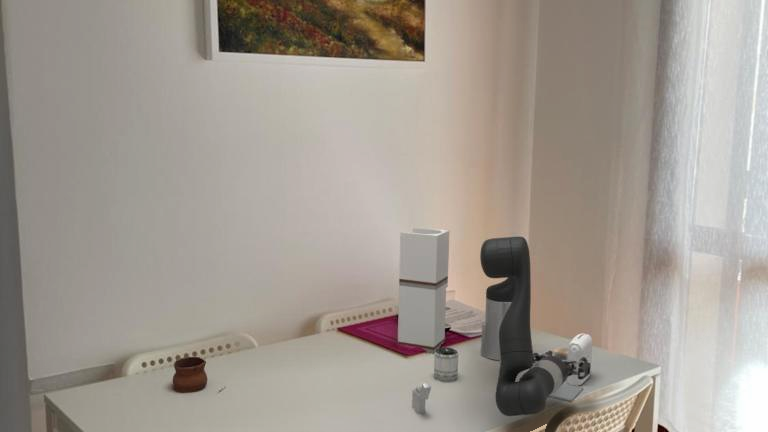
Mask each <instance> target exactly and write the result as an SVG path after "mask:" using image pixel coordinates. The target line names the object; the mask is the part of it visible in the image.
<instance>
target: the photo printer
mask: <svg viewBox="0 0 768 432" xmlns="http://www.w3.org/2000/svg"><path fill="white" fill-rule="evenodd" d="M567 349H568V360H575V361H579V360H580V359H581V358H582V357H586V359H587V360H588V362H587V363H590V364H591V366H590V374H589V375H588V376H586V377H585V378H584V379H581V380H580V379H578V375H572V376H568V377H567V379H566V381H565V382H566V384H568V385H573V386H577V387H579V386H581V385H582V384H583V383H585V382H586V381H587V380H588V379H589V377H590V375H591V373H592V371H591V370H592V355H593V338H592V337H591V335H589V334H588V333H579V334H577V335H575V336H574V337H573V338H572V339H571V340H570V342H569V345H568V347H567ZM570 365H571V364H570ZM578 367H579V365H577V367H576V369H578Z"/></svg>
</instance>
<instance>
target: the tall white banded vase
mask: <svg viewBox="0 0 768 432" xmlns="http://www.w3.org/2000/svg"><path fill="white" fill-rule="evenodd" d="M399 233H400V234H399V235H400V236H399V237H400V238H399V273H398V274H399V275H398V276H399V277H398V278H399V281H398V318H397V319H398V320H397V323H398V325H397V345H398V344H402V345H408V346H415V347H420V348H422V349H424V350H426V351H427V352H428V353H427V354H431V353H432V355H433V354H434V355H435V351H436V350H437V349H439V347H440V346H441V344H443V343H444V341H445V340H447V337H446V336H445V335H446V333H445V331H446V308H447V307H446V305H447V303H446V302H447V288H448V285H449V284H448V283H449V279H448V278H449V260H450V259H449V256H450V254H449V253H450V229H449V230H447V229H437V228H436V229H434V228H426V227H416V226H415V227H412V232H406V231H405V232H404V231H401V232H399Z"/></svg>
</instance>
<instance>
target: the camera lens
mask: <svg viewBox="0 0 768 432" xmlns="http://www.w3.org/2000/svg"><path fill="white" fill-rule="evenodd" d="M433 364H434V367H433V369H434V370H433V372H434V378H435V379H436V380H437V381H439V382H443V383H448V382H449V383H450V382H451V383H452V382H455V381H456V380H457V377H458V373H459V352H458V351H457V350H456V349H454V348H452V347H441V348H440V349H437V350H436V351H435V353H434V363H433Z"/></svg>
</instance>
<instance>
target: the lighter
mask: <svg viewBox="0 0 768 432" xmlns="http://www.w3.org/2000/svg"><path fill="white" fill-rule="evenodd" d="M431 390H432V386H431V384H430V382H425V383H422V384H421V387H420V386H416V387H415V388H414V389H412V399H411V407H412V408H413V409H414V410H415V411H416V412H417V413H418V414H425V413H426V401H427V400H428V399H429V396H430V394H431Z"/></svg>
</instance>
